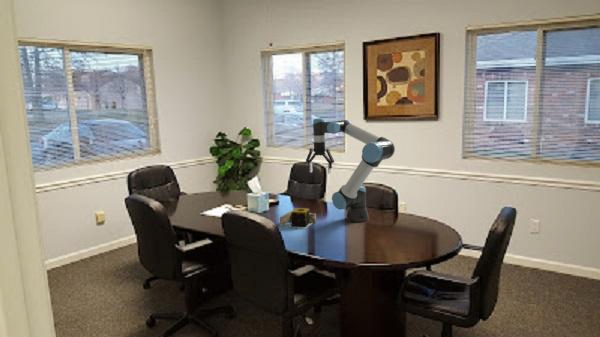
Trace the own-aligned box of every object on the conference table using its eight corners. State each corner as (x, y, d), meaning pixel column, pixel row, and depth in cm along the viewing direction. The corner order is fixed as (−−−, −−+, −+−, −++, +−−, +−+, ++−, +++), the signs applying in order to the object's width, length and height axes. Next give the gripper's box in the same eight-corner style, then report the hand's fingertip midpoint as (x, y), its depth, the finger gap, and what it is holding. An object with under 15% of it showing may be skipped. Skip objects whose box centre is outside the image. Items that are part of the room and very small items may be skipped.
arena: (316, 222, 302) (315, 213, 301) (306, 228, 289) (305, 219, 288) (291, 219, 311) (290, 211, 310) (280, 225, 298) (279, 217, 297)
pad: (312, 223, 300) (312, 223, 300) (304, 228, 290) (304, 228, 290) (296, 221, 306) (296, 221, 305) (288, 226, 295) (288, 226, 295)
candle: (291, 226, 294) (290, 211, 292) (295, 222, 304) (294, 207, 302) (306, 227, 291) (305, 212, 290) (309, 222, 301) (309, 208, 299)
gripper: (338, 141, 301) (339, 172, 304) (305, 140, 312) (306, 170, 316) (334, 142, 294) (335, 174, 298) (300, 141, 305) (301, 172, 309)
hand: (320, 172), depth 307 cm, fingers open, 13 cm apart
